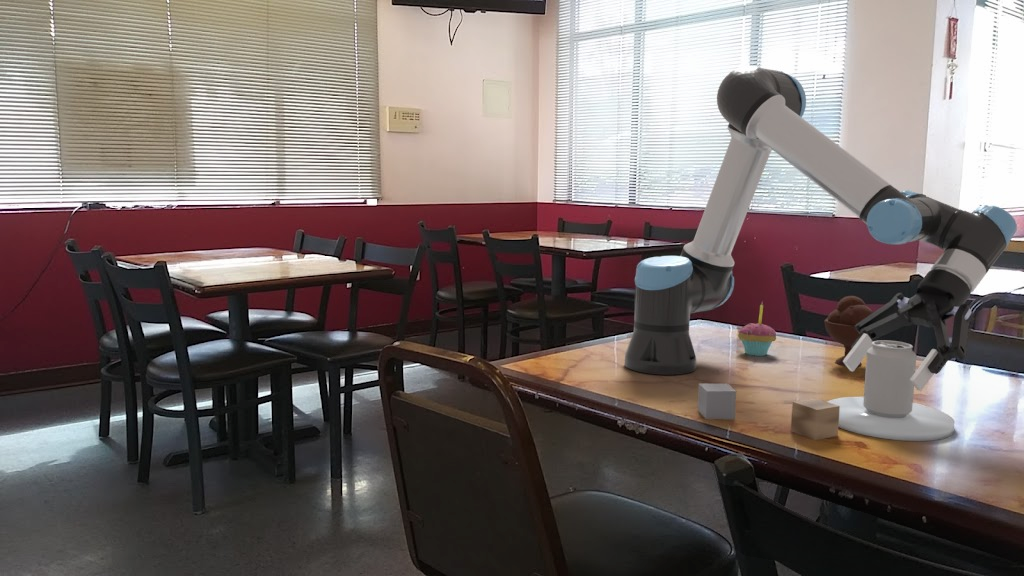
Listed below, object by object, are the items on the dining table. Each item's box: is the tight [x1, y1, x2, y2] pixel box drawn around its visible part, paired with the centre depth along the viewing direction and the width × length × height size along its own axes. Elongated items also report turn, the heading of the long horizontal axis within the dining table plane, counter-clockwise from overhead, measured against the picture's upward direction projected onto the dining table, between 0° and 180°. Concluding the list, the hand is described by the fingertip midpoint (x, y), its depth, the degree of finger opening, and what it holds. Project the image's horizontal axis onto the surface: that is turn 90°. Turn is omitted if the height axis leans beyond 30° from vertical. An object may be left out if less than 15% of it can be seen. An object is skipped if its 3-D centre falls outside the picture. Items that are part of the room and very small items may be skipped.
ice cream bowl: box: [823, 295, 874, 367], centre depth 176 cm, size 11×11×15 cm
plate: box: [826, 396, 955, 442], centre depth 135 cm, size 20×20×2 cm
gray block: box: [697, 383, 737, 420], centre depth 138 cm, size 5×5×5 cm
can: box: [863, 339, 917, 418], centre depth 134 cm, size 8×8×12 cm
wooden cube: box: [790, 397, 840, 441], centre depth 129 cm, size 5×5×5 cm
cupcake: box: [737, 301, 777, 357], centre depth 186 cm, size 9×8×12 cm
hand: (879, 375), depth 133 cm, fingers open, 13 cm apart
